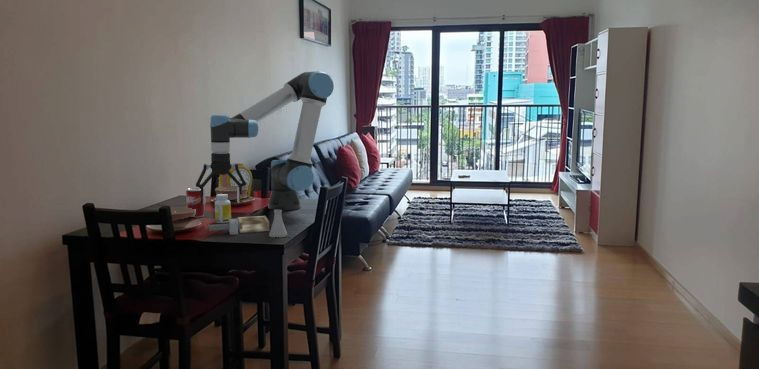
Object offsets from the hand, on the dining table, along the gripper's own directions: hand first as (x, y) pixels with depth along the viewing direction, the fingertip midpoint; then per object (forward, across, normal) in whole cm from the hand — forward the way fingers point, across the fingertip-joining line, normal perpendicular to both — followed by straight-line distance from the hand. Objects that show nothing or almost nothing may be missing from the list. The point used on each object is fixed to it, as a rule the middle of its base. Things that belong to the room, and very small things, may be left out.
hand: (221, 202), depth 235 cm
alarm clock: (+8, -10, -52) cm, 54 cm away
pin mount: (+8, -4, +20) cm, 22 cm away
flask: (+8, -20, +30) cm, 37 cm away
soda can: (+8, +10, -14) cm, 20 cm away
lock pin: (+7, +1, +20) cm, 22 cm away
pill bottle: (+8, -1, 0) cm, 8 cm away
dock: (+8, -12, +15) cm, 20 cm away
